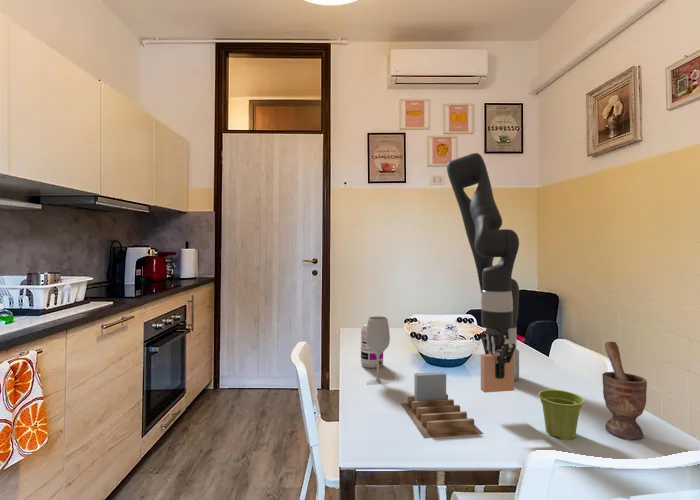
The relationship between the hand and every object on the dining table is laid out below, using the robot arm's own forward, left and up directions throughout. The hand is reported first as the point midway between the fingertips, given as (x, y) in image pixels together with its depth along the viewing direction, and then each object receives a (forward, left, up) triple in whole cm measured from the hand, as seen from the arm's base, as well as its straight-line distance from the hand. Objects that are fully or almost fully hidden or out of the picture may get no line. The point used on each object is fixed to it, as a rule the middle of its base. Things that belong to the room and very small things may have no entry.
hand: (497, 376), depth 103 cm
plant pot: (-10, +10, -11) cm, 18 cm away
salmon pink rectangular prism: (0, 0, -4) cm, 4 cm away
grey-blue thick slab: (+16, -6, -10) cm, 19 cm away
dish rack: (+16, 0, -11) cm, 19 cm away
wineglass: (+25, -30, -11) cm, 40 cm away
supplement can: (+23, -50, -11) cm, 56 cm away
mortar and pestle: (-25, +10, -11) cm, 29 cm away
